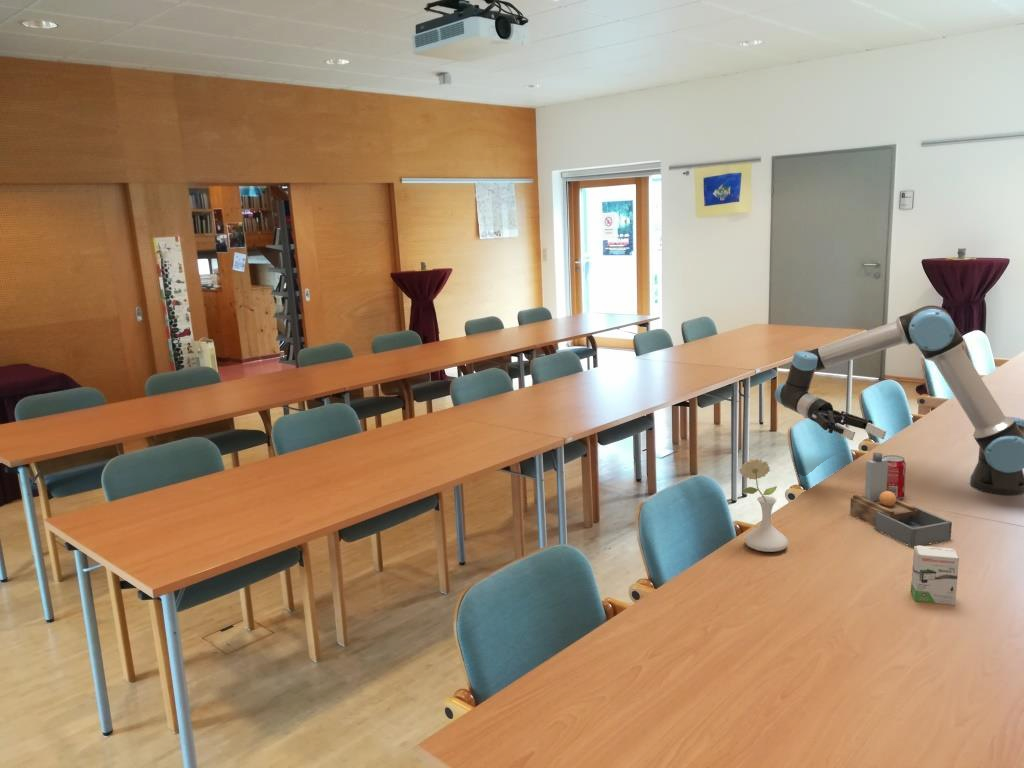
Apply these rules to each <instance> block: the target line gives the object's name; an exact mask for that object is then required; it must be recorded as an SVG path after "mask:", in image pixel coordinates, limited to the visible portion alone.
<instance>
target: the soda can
mask: <svg viewBox="0 0 1024 768" xmlns="http://www.w3.org/2000/svg"><path fill="white" fill-rule="evenodd" d="M882 458H884V459H886V460H888V473H887V491H890V492H892V493H894V494H895V496H896V499H897V500H899V501H902V500H903V498H904V497H905V493H906V492H905V490H906V469H907V466H906V465H907V463H906V462H905V457H903V456H901V455H894V454H887V455H882Z"/></svg>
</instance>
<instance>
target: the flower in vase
mask: <svg viewBox="0 0 1024 768" xmlns="http://www.w3.org/2000/svg"><path fill="white" fill-rule="evenodd" d="M738 471H739V473H740V474H741V477H743V478H745V479H749V480H755V482H756V483H755V484H756V487H753V486H748V487H745V488H744V489H743V490H742V491H741V493H744V494H745V493H746V494H749V495H754V494H755V493H757V492H759V494H760V495H761V496H758V497H757V502H759V505H760V508H761V515H762V517H761V519H762V520H761V523H760V525H759V526H758V527H757V526H756V528H754V529H752V530H751V531H749V532H748V533H747V534H746V535H745V536H744V539H743V540H744V542H745V544H746V545H747V546H748V547H749V548H751V549H754V550H756V551H759V552H765V553H768V552H769V553H771V552H780V551H782V550H784V549H786V548H787V547H788V545H789V541H788V538H787V537H786V536H784V534H783V533H781V531H779V530H777V528H775V527H774V526H773V524H772V510H773V507H774V505H775V503H777V501H778V500H777V498H776V497H773V496H770V495H773V494H774V493H775V492H776V490H777V485H776V486H775V485H774V486H772V487H769V488H766V489H765V490H764V492H763V493H762V492H761V490H760V488H759V485H758V484H759V483H758V479H761V478H763V477H766V475H768V473H769V472H770V471H771V468H770V466H769V463H768V461H766V460H765V461H763V459H762V458H759V459H758V458H755V459H751V458H750V459H749V460H748V461H747V460H746V461H745V462H744V463H743V464H742V465H741V467H740V468H739V469H738Z"/></svg>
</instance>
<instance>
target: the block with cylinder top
mask: <svg viewBox="0 0 1024 768" xmlns="http://www.w3.org/2000/svg"><path fill="white" fill-rule="evenodd" d="M882 457H883V454H882V452H873V453H872V459H870V460H866V467H865V469H866V470H865V486H864V489H865V490H864V496H865V498H866V499H868V500H870V501H872V502H873V501H879V496H880V494H881V493H882V492H884V491H887V473H888V460H886V459H884V458H882Z"/></svg>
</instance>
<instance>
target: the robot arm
mask: <svg viewBox="0 0 1024 768" xmlns="http://www.w3.org/2000/svg"><path fill="white" fill-rule="evenodd" d="M963 337H964V336H963V335H962V334H961V333H960V330H959V329H958V328H957V326H956V324H955V322H954V320H953V319H952V317H951V315H950V313H949V312H948V311H947V310H946V309H945V308H944V307H941V306H938V305H933V304H932V305H925V306H922V307H919V308H918V309H915V310H913V311H911V312H907V313H906V314H904V315H900V316H898V317H897V319H896V320H895V321H892V322H889V323H887V324H883V325H880V326H877V327H875V328H871V329H869V330H866V331H863V332H860V333H857V334H854V335H851V336H849V337H845V338H842V339H840V340H836V341H833V342H831V343H828V344H825V345H822V346H819V347H817V348H813V349H810V350H808V349H807V350H797V351H796V352H795V353H794V355H793V358H792V359H791V364H790V368H789V371H788V375H787V379H786V382H782V383H780V384H778V386H777V388H776V389H775V391H774V398H775V401H776V402H777V403H779V405H782V406H783V407H784V408H787V409H789V410H791V411H793V412H796V413H797V414H799V415H800V416H803V418H804V419H809V420H810V421H812V422H815V423H816V424H817V425H819V427H820V428H821V429H823V430H824V431H828V433H829V434H833V432H834V433H836V434H838V435H840V436H842V437H844V438H846V439H847V440H848V441H853V440H854V437H855V434H856V431H855V430H852V429H850V428H848V427H846V426H845V425H847V426H850V427H854V428H858V429H862V430H864V432H867V433H869V434H870V435H872V436H875V437H877V438H878V439H881V440H884V439H885V437H886V434H887V430H885V429H883V428H881V427H879V426H877V425H875V424H873V421H872V419H866V418H862V417H860V416H857V415H854V414H851V413H848V412H846V411H844V410H842V411H841V412H840V411H839V410H835V409H834V406H833V405H832V403H831V402H829V401H827V400H825V399H823V398H821V397H819V396H817V395H814V394H812V393H810V392H809V391H810V388H811V384H812V381H813V378H814V375H815V373H816V372H818V371H822V370H824V369H827V368H830V367H834V366H837V365H840V364H842V363H846V362H849V361H853V360H855V359H859V358H862V357H865V356H867V355H872V354H875V353H878V352H880V351H885V350H887V349H890V348H893V347H896V346H900V345H904V344H906V345H908V346H910V345H912V344H914V345H915V346H916V347H917V348H918V350H920V353H921V354H922V356H923V357H924V359H925V360H927V361H931V362H933V364H934V365H935V367H936V368H937V369H938V371H939V373H940V374H941V376H942V377H943V379H944V381H945V383H946V385H947V386H948V387H949V389H950V391H951V392H952V394H953V396H954V397H955V399H956V401H957V402H958V404H960V406H961V408H962V410H963V411H964V413H965V415H966V416H967V418H968V420H969V421H970V423H971V424H972V426H973V427H974V431H973V435H972V437H973V438H974V440H975V442H976V443H977V444H978V446H979V447H978V459H977V460H978V461H977V463H976V465H975V467H974V469H973V471H972V474H971V475H970V480H969V481H970V482H969V484H970V487H972V488H974V489H975V490H979V491H981V492H984V493H989V494H995V495H1002V496H1003V495H1005V496H1008V495H1009V496H1016V495H1021V494H1024V419H1023V418H1020V417H1013V416H1006V415H1005V414H1004V413H1003V411H1002V409H1001V408H1000V406H999V404H998V403H997V401H996V399H995V398H994V396H993V395H992V393H991V392H990V390H989V388H988V386H987V385H986V383H985V381H984V380H983V379H982V377H981V376H980V374H979V372H978V371H977V369H976V367H975V366H974V364H973V363H972V361H971V359H970V358H969V356H968V355H967V353H966V351H965V350H964V348H963V345H964V343H965V339H964V338H963Z"/></svg>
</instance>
